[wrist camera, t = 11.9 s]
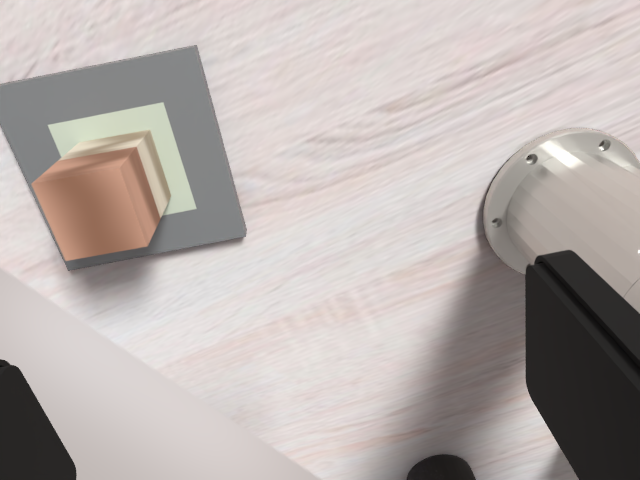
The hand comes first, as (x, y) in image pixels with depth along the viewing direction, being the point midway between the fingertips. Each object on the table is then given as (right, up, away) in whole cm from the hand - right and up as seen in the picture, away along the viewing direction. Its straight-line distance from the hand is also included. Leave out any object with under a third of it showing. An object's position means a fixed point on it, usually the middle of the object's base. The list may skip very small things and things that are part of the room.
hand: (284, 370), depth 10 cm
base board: (-13, +8, +29) cm, 33 cm away
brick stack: (-13, +7, +28) cm, 32 cm away
